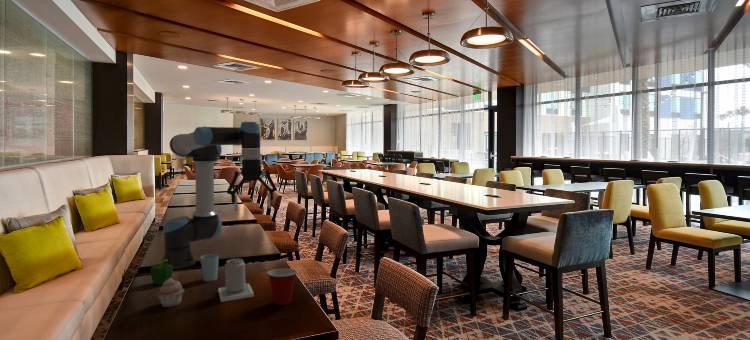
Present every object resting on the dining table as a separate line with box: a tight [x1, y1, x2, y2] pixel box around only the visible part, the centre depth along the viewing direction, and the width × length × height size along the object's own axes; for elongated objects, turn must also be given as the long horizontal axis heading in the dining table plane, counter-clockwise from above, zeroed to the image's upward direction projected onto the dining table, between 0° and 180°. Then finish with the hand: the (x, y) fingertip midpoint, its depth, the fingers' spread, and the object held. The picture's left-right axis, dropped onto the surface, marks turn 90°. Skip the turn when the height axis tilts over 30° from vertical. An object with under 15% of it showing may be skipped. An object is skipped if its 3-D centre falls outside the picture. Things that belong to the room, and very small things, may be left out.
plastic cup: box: [267, 268, 298, 306], centre depth 153 cm, size 11×11×12 cm
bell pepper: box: [150, 260, 174, 286], centre depth 176 cm, size 8×8×10 cm
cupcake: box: [156, 277, 185, 308], centre depth 152 cm, size 9×9×10 cm
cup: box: [199, 253, 220, 282], centre depth 180 cm, size 8×8×10 cm
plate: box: [217, 283, 255, 303], centre depth 162 cm, size 12×12×2 cm
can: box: [224, 258, 247, 293], centre depth 162 cm, size 8×8×12 cm
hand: (252, 209), depth 173 cm, fingers open, 13 cm apart
